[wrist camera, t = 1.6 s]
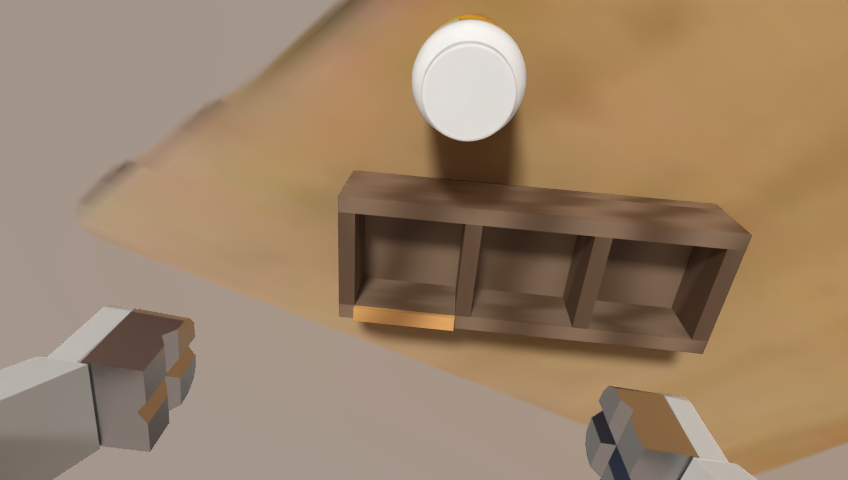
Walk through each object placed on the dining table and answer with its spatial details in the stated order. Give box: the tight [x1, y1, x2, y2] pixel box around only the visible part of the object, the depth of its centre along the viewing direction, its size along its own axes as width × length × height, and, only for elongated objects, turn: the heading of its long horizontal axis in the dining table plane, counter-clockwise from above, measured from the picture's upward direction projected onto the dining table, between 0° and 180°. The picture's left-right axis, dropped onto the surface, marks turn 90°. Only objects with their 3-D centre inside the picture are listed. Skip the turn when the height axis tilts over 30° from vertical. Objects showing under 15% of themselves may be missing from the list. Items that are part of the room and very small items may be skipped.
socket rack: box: [338, 171, 752, 354], centre depth 32 cm, size 24×9×5 cm, turn 86°
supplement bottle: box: [412, 14, 526, 141], centre depth 25 cm, size 5×5×10 cm
